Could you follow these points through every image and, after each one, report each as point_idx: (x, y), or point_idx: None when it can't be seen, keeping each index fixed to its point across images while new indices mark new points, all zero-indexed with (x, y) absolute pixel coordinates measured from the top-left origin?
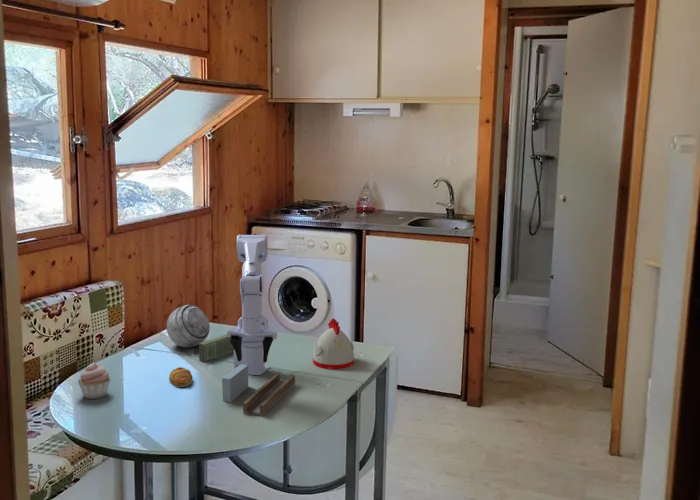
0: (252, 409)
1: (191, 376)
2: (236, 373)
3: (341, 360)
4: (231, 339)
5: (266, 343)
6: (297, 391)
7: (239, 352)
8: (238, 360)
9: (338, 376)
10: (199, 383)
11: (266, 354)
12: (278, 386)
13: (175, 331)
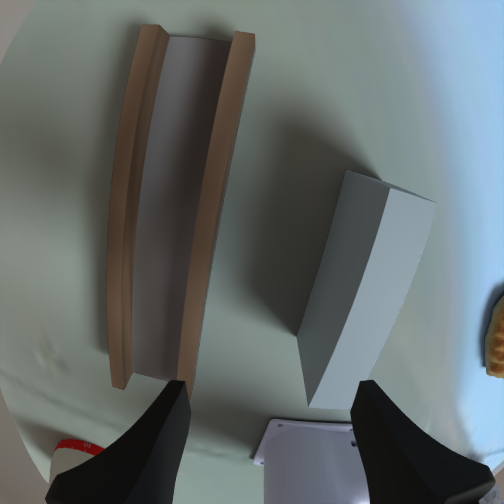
0: (212, 61)
1: (495, 344)
2: (362, 289)
3: (59, 455)
4: (479, 495)
5: (85, 489)
6: (93, 307)
7: (379, 431)
8: (371, 383)
9: (47, 403)
10: (466, 332)
11: (140, 418)
12: (164, 332)
13: (492, 491)
